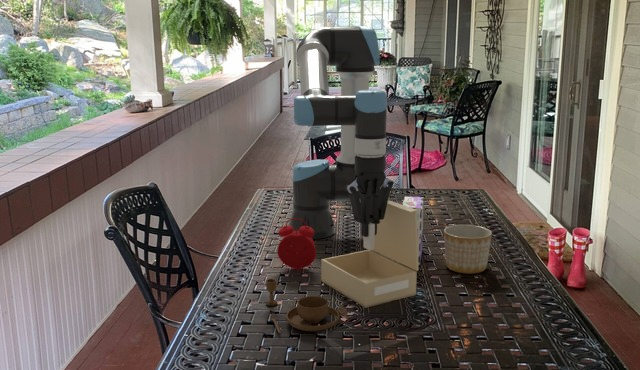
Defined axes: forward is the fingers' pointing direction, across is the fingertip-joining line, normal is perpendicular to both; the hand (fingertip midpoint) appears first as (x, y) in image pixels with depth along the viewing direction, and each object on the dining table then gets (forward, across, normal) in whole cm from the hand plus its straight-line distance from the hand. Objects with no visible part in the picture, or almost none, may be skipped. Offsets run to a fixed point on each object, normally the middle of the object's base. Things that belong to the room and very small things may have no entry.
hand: (368, 248), depth 160 cm
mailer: (+10, 0, 0) cm, 10 cm away
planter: (+11, +31, -2) cm, 33 cm away
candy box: (+11, +24, +13) cm, 29 cm away
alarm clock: (+11, -9, +21) cm, 25 cm away
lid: (+4, +7, 0) cm, 8 cm away
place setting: (+11, -20, -5) cm, 24 cm away
